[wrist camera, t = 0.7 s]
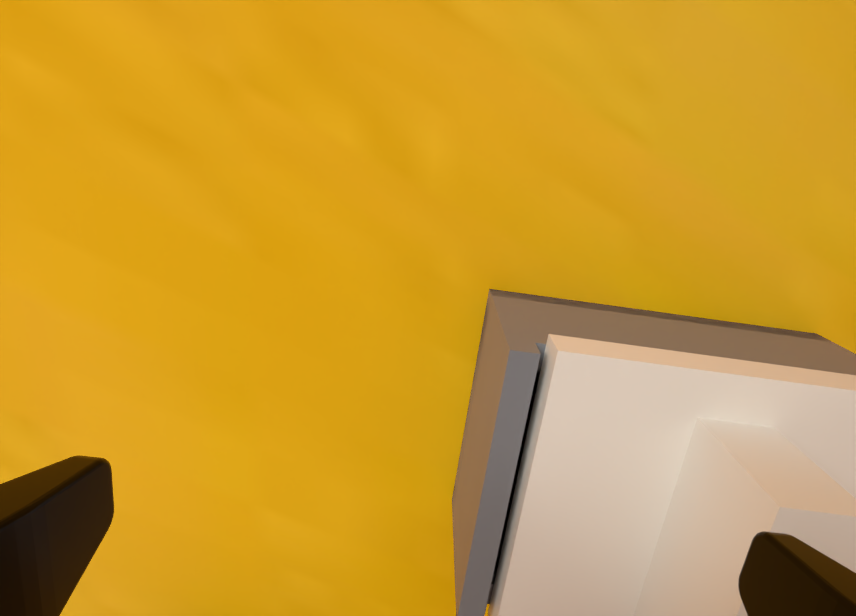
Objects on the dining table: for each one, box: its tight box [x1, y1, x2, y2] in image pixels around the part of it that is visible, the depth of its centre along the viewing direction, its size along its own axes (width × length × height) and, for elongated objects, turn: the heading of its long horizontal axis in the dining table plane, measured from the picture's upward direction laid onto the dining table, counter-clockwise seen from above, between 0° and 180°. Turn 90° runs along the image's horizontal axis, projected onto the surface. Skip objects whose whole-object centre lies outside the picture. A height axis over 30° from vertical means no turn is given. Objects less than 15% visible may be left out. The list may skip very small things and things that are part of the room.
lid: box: [488, 334, 856, 616], centre depth 14 cm, size 10×10×5 cm
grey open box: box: [452, 289, 856, 616], centre depth 18 cm, size 9×12×6 cm
